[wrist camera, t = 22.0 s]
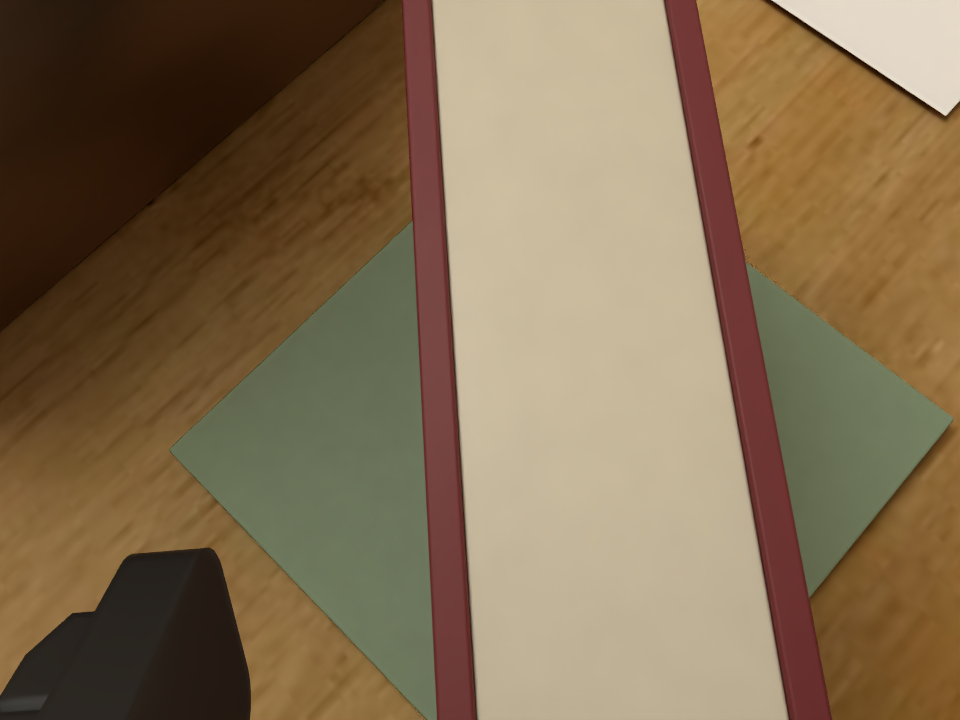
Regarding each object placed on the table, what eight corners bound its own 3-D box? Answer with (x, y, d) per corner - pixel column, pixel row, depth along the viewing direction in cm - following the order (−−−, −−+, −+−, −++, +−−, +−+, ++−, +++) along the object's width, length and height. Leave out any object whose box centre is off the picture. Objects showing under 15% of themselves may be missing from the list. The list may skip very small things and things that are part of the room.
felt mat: (579, 876, 17) (580, 880, 17) (174, 453, 20) (167, 449, 20) (946, 423, 20) (955, 417, 19) (535, 112, 23) (536, 103, 22)
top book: (692, 739, 17) (847, 788, 9) (483, 755, 17) (441, 817, 9) (615, 189, 22) (671, -135, 13) (448, 204, 22) (396, -108, 13)
